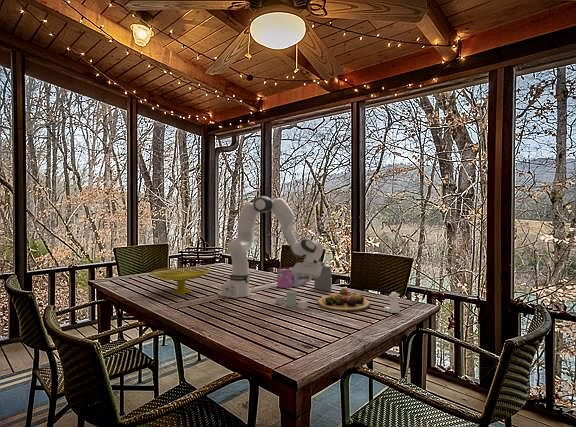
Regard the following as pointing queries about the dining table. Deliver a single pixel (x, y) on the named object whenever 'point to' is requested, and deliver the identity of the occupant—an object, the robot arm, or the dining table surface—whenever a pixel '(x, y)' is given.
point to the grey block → (280, 300)
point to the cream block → (302, 304)
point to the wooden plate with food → (344, 302)
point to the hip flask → (323, 279)
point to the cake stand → (180, 276)
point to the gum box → (289, 278)
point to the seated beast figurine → (393, 304)
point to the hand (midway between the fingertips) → (301, 280)
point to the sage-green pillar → (291, 298)
